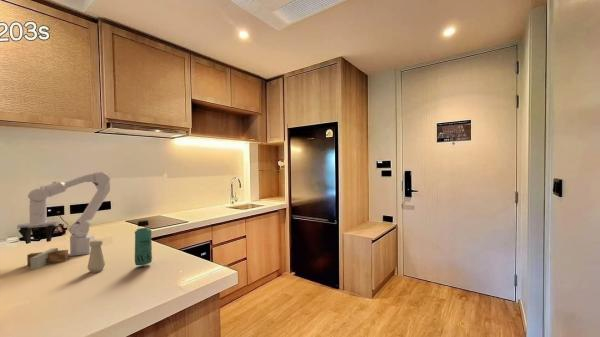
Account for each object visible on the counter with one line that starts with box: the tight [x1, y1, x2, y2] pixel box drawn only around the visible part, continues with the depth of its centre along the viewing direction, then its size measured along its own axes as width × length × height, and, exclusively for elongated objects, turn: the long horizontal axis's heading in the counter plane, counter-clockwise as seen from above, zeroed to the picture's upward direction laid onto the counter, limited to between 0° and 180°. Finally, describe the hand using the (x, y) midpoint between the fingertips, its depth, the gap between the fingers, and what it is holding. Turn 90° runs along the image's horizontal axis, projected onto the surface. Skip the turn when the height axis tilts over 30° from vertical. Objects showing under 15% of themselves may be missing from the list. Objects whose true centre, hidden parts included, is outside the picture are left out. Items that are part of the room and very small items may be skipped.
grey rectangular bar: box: [30, 247, 59, 270], centre depth 119 cm, size 15×2×5 cm, turn 18°
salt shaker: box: [87, 238, 106, 274], centre depth 108 cm, size 6×6×13 cm
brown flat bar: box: [26, 249, 69, 267], centre depth 120 cm, size 14×2×5 cm, turn 108°
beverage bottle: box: [134, 219, 153, 266], centre depth 111 cm, size 6×7×20 cm
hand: (38, 242), depth 121 cm, fingers open, 7 cm apart
